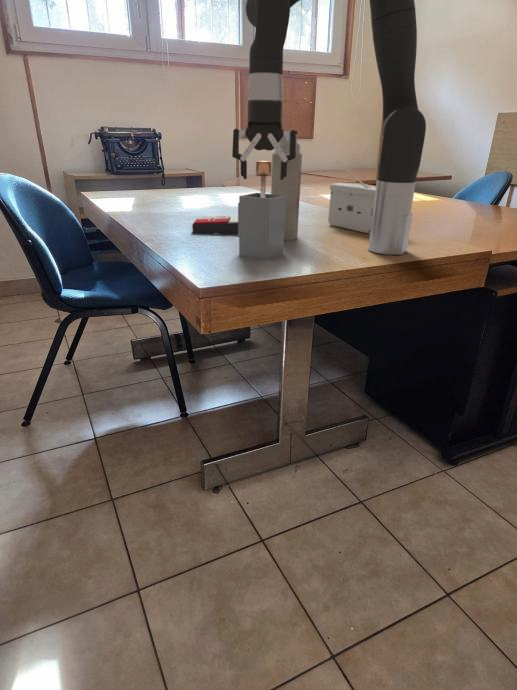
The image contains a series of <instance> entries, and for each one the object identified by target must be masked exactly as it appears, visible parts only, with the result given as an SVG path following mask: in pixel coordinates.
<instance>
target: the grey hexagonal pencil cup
mask: <svg viewBox="0 0 517 690" xmlns="http://www.w3.org/2000/svg"><path fill="white" fill-rule="evenodd" d="M238 198H239V200H238V201H239V202H238V203H237V216H238V235H237V236H238V242H239V243H238V249H239V250H238V256H239V257H242V258H243V257H244V258H250V259H256V260H261V261H270V260H272V259H275V258H277V257H279V256H282V255H283V254H284V249H285V248H284V246H285V245H284V243H285V240H284V226H285V204H286V195H276V194H271V193H266V195H265V198H260V192H254V193H248V194H242V195H239V197H238Z"/></svg>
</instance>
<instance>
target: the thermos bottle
mask: <svg viewBox="0 0 517 690" xmlns="http://www.w3.org/2000/svg"><path fill="white" fill-rule="evenodd" d="M291 130H292V129H283V131H291ZM295 132H296V157H295V159H292V160H289V161H288V162H287V175H286V177H284V178H283V180H280V165H281V162H282V160H281V158H280V156H279V155H278V153H277V152H276V150H275V149H274V152H272V159H271V162H272V167H271V188H270V190H271V192H270V194H276V195H286V204H285V226H284V241H286V240H288V241H289V240H295V239H297V238H298V233H299V214H300V198H301V194H300V193H301V179H302V164H303V163H302V162H303V153H301V152H300V151H301V150H300V149H301V144H300V143H299V142H298V136H297V135H298V130H295ZM278 144H279V146H280V147H281V149H282V150H283V152H284V154H285V155H288V154H289V141H288V140H287V139H286V136H284V135H283V137H282V138H281V140H280V141H279V143H278Z"/></svg>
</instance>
